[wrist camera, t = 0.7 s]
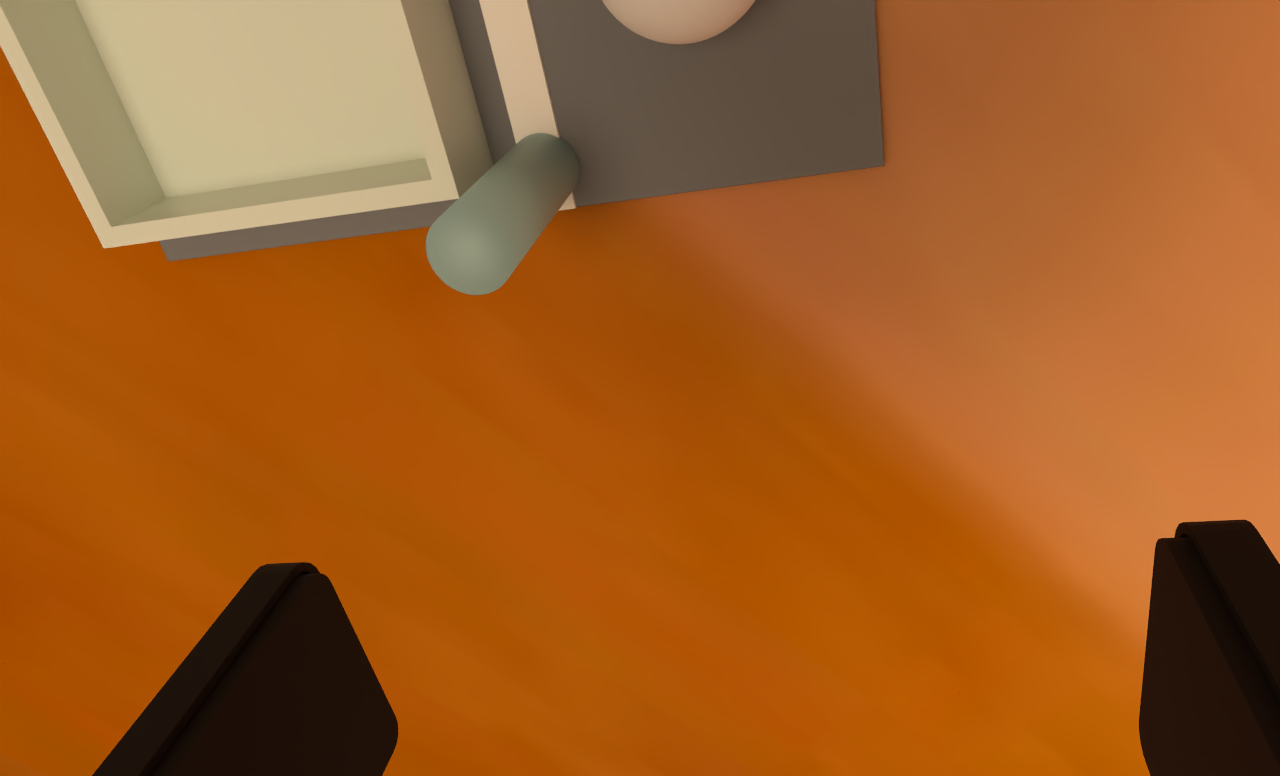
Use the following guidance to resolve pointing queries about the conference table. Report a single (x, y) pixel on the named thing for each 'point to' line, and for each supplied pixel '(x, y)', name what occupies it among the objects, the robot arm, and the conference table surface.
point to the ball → (678, 18)
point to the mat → (646, 105)
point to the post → (502, 214)
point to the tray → (246, 108)
